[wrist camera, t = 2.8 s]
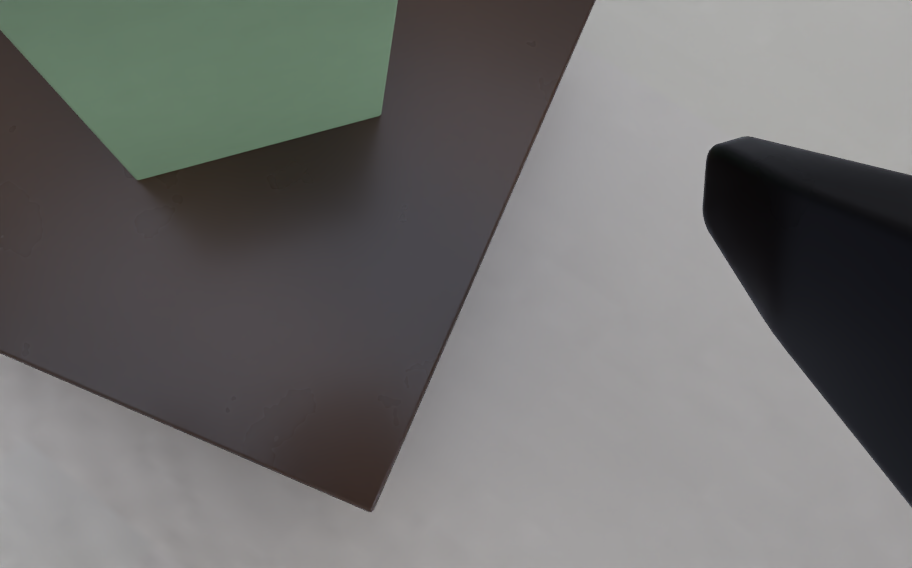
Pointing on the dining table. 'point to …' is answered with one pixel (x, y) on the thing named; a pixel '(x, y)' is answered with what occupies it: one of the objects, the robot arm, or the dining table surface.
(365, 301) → the storage box
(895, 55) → the dining table surface
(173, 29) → the small box
